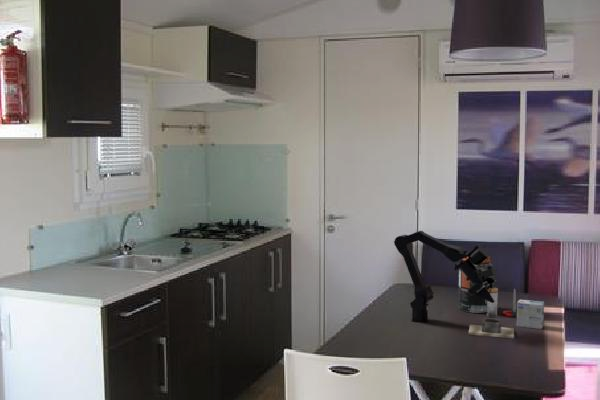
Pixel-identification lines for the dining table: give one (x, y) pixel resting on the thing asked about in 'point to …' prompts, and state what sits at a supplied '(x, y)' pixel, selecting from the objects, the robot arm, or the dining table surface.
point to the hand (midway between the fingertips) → (495, 301)
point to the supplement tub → (473, 301)
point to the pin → (492, 306)
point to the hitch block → (491, 329)
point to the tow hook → (513, 312)
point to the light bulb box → (530, 314)
